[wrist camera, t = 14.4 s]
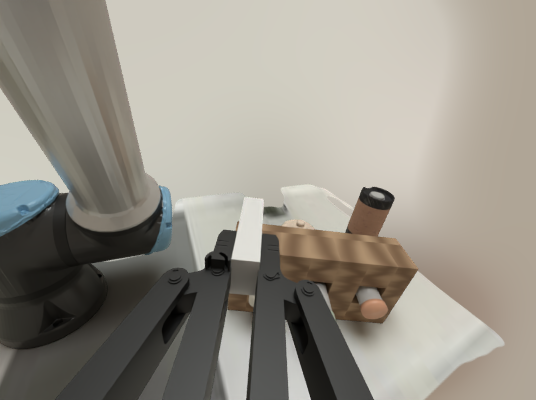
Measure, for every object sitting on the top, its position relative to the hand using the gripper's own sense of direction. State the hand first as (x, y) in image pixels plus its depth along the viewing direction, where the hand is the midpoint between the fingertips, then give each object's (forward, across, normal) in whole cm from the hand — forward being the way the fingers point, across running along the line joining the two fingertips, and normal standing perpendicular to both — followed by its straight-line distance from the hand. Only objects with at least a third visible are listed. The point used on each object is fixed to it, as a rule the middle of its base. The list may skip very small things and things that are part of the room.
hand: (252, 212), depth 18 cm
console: (+16, +13, -32) cm, 38 cm away
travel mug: (+32, +29, -32) cm, 54 cm away
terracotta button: (+13, +23, -26) cm, 37 cm away
